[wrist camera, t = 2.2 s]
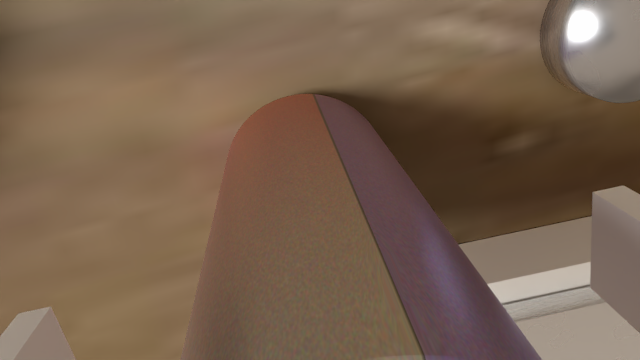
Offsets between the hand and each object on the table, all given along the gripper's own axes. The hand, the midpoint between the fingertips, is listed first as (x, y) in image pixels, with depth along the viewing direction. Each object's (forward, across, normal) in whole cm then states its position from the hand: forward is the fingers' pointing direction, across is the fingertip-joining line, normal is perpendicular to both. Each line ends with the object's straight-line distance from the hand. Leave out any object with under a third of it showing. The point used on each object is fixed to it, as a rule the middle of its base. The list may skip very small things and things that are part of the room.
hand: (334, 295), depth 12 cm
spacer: (+8, +12, +4) cm, 15 cm away
